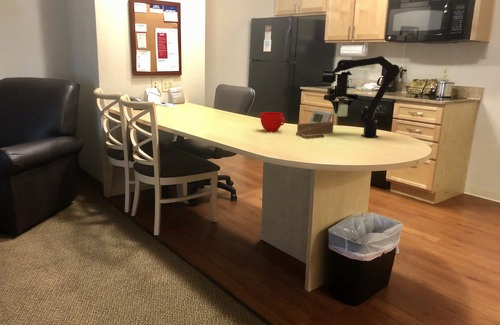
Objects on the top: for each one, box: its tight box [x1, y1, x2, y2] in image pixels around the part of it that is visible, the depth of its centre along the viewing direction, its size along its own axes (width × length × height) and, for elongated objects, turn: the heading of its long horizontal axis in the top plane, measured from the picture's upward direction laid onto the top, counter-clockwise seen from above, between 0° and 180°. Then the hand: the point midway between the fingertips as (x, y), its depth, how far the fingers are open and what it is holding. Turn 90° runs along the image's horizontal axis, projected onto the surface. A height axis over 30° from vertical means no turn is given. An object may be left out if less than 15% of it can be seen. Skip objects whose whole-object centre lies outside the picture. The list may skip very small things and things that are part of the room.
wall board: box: [295, 121, 334, 140], centre depth 211 cm, size 10×23×6 cm, turn 113°
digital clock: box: [308, 109, 333, 123], centre depth 230 cm, size 16×9×11 cm, turn 16°
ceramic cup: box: [259, 111, 286, 133], centre depth 222 cm, size 13×17×10 cm
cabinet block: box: [332, 102, 349, 117], centre depth 211 cm, size 6×5×7 cm
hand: (340, 113), depth 211 cm, fingers closed on cabinet block, 5 cm apart
